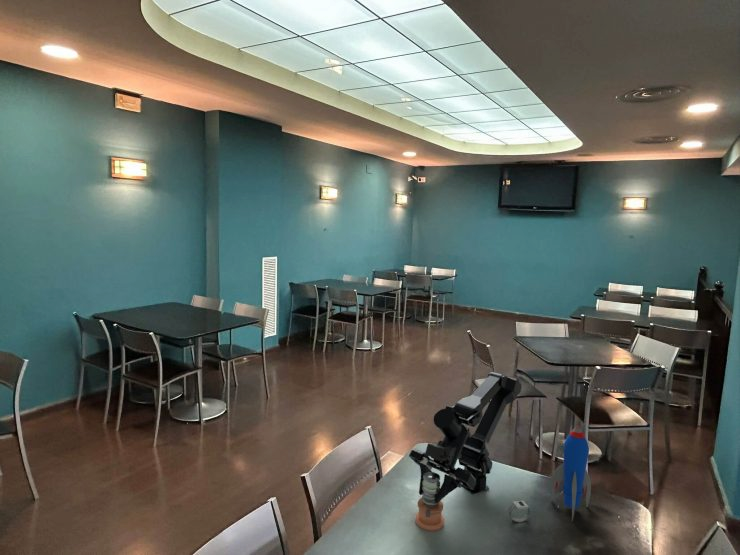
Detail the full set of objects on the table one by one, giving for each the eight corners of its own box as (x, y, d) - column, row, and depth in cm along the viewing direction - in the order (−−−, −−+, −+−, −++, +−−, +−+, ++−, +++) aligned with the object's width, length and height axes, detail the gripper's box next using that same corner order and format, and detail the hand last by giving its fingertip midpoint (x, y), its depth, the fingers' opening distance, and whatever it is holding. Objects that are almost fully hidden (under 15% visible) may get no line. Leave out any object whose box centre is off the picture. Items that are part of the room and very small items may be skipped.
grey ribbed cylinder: (428, 495, 124) (429, 469, 123) (442, 502, 121) (444, 476, 120) (418, 502, 120) (419, 476, 120) (432, 510, 117) (434, 483, 116)
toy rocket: (589, 506, 130) (596, 422, 127) (596, 527, 121) (604, 438, 118) (548, 499, 133) (555, 417, 130) (552, 519, 123) (559, 432, 121)
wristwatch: (511, 525, 121) (512, 508, 120) (506, 518, 123) (507, 501, 123) (532, 523, 122) (533, 505, 121) (526, 516, 124) (528, 499, 124)
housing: (426, 509, 126) (427, 491, 126) (449, 521, 121) (450, 503, 121) (409, 521, 121) (410, 503, 120) (433, 535, 116) (434, 516, 115)
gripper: (413, 420, 127) (387, 472, 121) (472, 443, 115) (447, 503, 108) (429, 438, 134) (404, 488, 127) (486, 461, 122) (462, 518, 115)
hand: (427, 498), depth 119 cm, fingers closed on grey ribbed cylinder, 5 cm apart
